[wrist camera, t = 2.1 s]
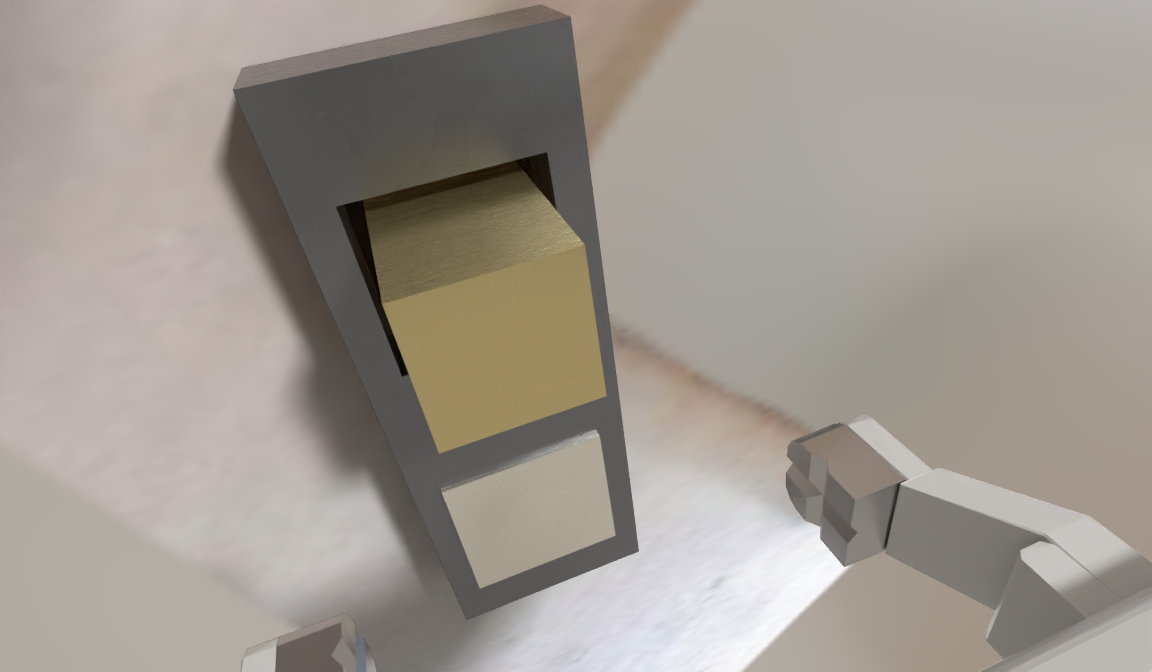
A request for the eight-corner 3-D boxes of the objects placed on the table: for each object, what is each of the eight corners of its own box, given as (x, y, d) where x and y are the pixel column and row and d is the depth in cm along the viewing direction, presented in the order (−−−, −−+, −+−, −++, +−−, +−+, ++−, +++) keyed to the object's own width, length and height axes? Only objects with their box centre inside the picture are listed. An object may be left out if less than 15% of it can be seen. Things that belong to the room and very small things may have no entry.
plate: (242, 67, 16) (231, 91, 14) (541, 4, 18) (573, 17, 15) (456, 572, 29) (467, 624, 27) (617, 510, 31) (640, 554, 28)
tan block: (360, 188, 19) (382, 304, 13) (507, 150, 20) (584, 244, 14) (405, 313, 21) (438, 453, 16) (532, 275, 22) (606, 396, 17)
